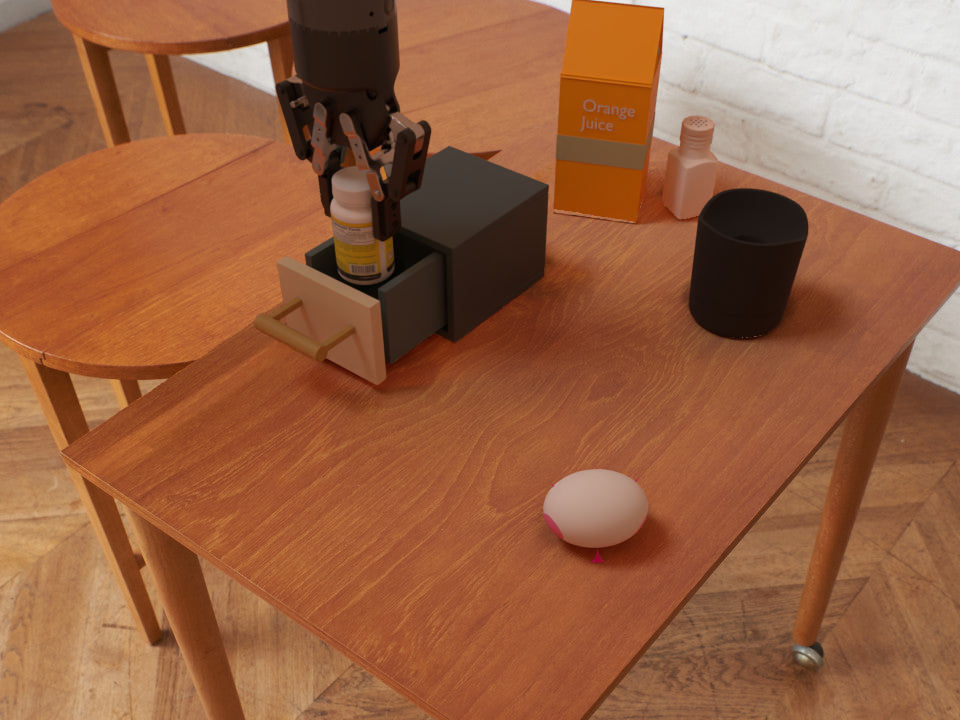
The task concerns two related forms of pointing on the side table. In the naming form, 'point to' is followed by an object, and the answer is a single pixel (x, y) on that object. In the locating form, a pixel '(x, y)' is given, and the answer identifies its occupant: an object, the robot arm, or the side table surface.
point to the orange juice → (607, 107)
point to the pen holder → (745, 261)
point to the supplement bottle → (357, 231)
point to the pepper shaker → (691, 169)
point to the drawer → (359, 308)
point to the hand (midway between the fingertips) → (361, 224)
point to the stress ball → (595, 508)
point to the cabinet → (478, 233)
